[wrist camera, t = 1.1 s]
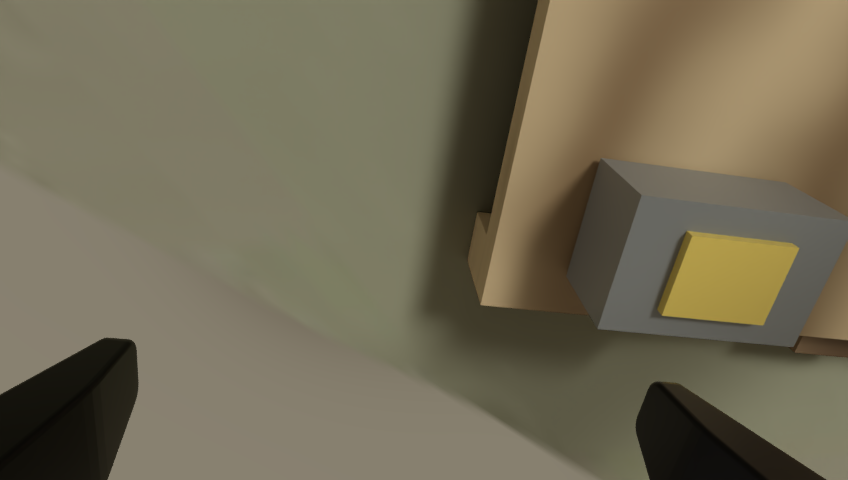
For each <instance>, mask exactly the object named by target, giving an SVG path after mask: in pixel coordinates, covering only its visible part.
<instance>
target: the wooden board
mask: <svg viewBox="0 0 848 480" xmlns="http://www.w3.org/2000/svg"><path fill="white" fill-rule="evenodd" d="M601 158H606V159H613V160H621V161H628V162H636V163H643V164H651V165H659V166H666V167H674V168H681V169H689V170H696V171H704V172H711V173H719V174H726V175H734V176H742V177H749V178H757V179H764V180H772V181H779V182H786V183H788V184H789V185H791V186H793V187H795V188H797V189H798V190H800V191H802V192H804V193H806V194H807V195H809V196H811V197H813V198H815V199H816V200H818V201H820V202H822V203H824V204H825V205H827V206H829V207H831V208H832V209H834V210H836V211H838V212H840V213H841V214H843V215H845V216H847V217H848V0H538V4H537V8H536V13H535V17H534V22H533V26H532V31H531V35H530V40H529V44H528V49H527V54H526V58H525V63H524V67H523V72H522V76H521V81H520V85H519V90H518V94H517V99H516V104H515V108H514V113H513V117H512V122H511V126H510V131H509V135H508V140H507V145H506V149H505V154H504V158H503V163H502V167H501V172H500V176H499V181H498V185H497V190H496V195H495V199H494V204H493V208H492V213H483V212H477V216H476V221H475V226H474V230H473V235H472V240H471V245H470V250H469V254H468V259H467V261H468V264H469V268H470V271H471V274H472V278H473V281H474V284H475V288H476V291H477V295H478V298H479V301H480V305H484V306H495V307H505V308H516V309H526V310H537V311H547V312H558V313H568V314H579V315H589V314H588V312H587V311H586V309H585V307H584V306H583V304H582V302H581V301H580V299H579V297H578V295H577V294H576V292H575V290H574V289H573V287H572V285H571V284H570V282H569V280H568V278H567V277H566V275H567V271H568V268H569V265H570V261H571V258H572V254H573V251H574V248H575V244H576V241H577V237H578V234H579V230H580V227H581V224H582V220H583V217H584V213H585V210H586V206H587V203H588V200H589V196H590V193H591V189H592V186H593V182H594V179H595V176H596V172H597V169H598V165H599V162H600V159H601ZM789 348H790V349H791V350H792V351H793V352H794V353H804V354H815V355H826V356H837V357H848V240H847V242H846V244H845V246H844V248H843V250H842V252H841V254H840V256H839V258H838V260H837V262H836V264H835V266H834V268H833V270H832V272H831V274H830V276H829V278H828V280H827V282H826V284H825V286H824V288H823V290H822V292H821V294H820V296H819V298H818V300H817V302H816V303H815V305H814V307H813V309H812V311H811V313H810V315H809V317H808V319H807V321H806V323H805V325H804V327H803V329H802V331H801V333H800V335H799V337H798V339H797V341H796V343H795V345H794V347H789Z"/></svg>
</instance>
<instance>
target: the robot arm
mask: <svg viewBox="0 0 848 480" xmlns="http://www.w3.org/2000/svg"><path fill="white" fill-rule="evenodd" d="M137 393H138V368H137V350H136V345H135V343H134V342H133V341H132V340H129V339H117V338H104V339H101V340H99V341H97V342H96V343H94V344H92V345H90V346H88V347H87V348H85V349H83V350H81V351H79V352H77V353H75V354H74V355H72V356H70V357H68V358H66V359H64V360H63V361H61V362H59V363H57V364H55V365H54V366H52V367H50V368H48V369H46V370H44V371H42V372H41V373H39V374H37V375H35V376H33V377H32V378H30V379H28V380H26V381H24V382H22V383H21V384H19V385H17V386H15V387H13V388H11V389H10V390H8V391H6V392H4V393H3V394H1V395H0V480H107V479H108V477H109V474H110V471H111V468H112V466H113V463H114V460H115V457H116V454H117V452H118V449H119V446H120V443H121V440H122V438H123V435H124V432H125V429H126V426H127V423H128V421H129V418H130V415H131V412H132V410H133V407H134V404H135V401H136V397H137ZM636 434H637V437H638V441H639V444H640V448H641V451H642V455H643V458H644V462H645V465H646V468H647V472H648V475H649V479H650V480H826V479H824V478H823V477H821V476H820V475H818V474H817V473H815V472H814V471H812V470H811V469H809V468H808V467H806V466H804V465H803V464H801V463H800V462H798V461H797V460H795V459H794V458H792V457H791V456H789V455H788V454H786V453H785V452H783V451H781V450H780V449H778V448H777V447H775V446H774V445H772V444H771V443H769V442H768V441H766V440H765V439H763V438H761V437H760V436H758V435H757V434H755V433H754V432H752V431H751V430H749V429H748V428H746V427H745V426H743V425H742V424H740V423H738V422H737V421H735V420H734V419H732V418H731V417H729V416H728V415H726V414H725V413H723V412H722V411H720V410H719V409H717V408H715V407H714V406H712V405H711V404H709V403H708V402H706V401H705V400H703V399H702V398H700V397H699V396H697V395H695V394H694V393H692V392H691V391H689V390H688V389H686V388H685V387H683V386H682V385H680V384H677V383H671V382H654V383H652V384H651V385H650V387H649V389H648V391H647V394H646V396H645V399H644V401H643V404H642V406H641V409H640V411H639V414H638V416H637V420H636Z"/></svg>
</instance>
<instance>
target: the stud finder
mask: <svg viewBox="0 0 848 480" xmlns="http://www.w3.org/2000/svg"><path fill="white" fill-rule="evenodd" d="M847 240H848V217H847V216H845V215H843V214H841V213H840V212H838V211H836V210H834V209H832V208H831V207H829V206H827V205H825V204H824V203H822V202H820V201H818V200H816V199H815V198H813V197H811V196H809V195H807V194H806V193H804V192H802V191H800V190H798V189H797V188H795V187H793V186H791V185H789V184H788V183H786V182H779V181H772V180H764V179H757V178H749V177H742V176H734V175H726V174H719V173H711V172H704V171H696V170H689V169H681V168H674V167H666V166H659V165H651V164H643V163H636V162H628V161H621V160H613V159H606V158H601V159H600V162H599V165H598V169H597V172H596V176H595V179H594V182H593V186H592V189H591V193H590V196H589V200H588V203H587V206H586V210H585V213H584V217H583V220H582V224H581V227H580V230H579V234H578V237H577V241H576V244H575V248H574V251H573V254H572V258H571V261H570V265H569V268H568V271H567V275H566V277H567V278H568V280H569V282H570V284H571V285H572V287H573V289H574V290H575V292H576V294H577V295H578V297H579V299H580V301H581V302H582V304H583V306H584V307H585V309H586V311H587V312H588V314H589V316H590V318H591V319H592V321H593V323H594V324H595V326H596V328H597V329H602V330H612V331H623V332H634V333H645V334H656V335H666V336H677V337H688V338H699V339H710V340H720V341H731V342H742V343H753V344H764V345H774V346H785V347H794V345H795V343H796V341H797V339H798V337H799V335H800V333H801V331H802V329H803V327H804V325H805V323H806V321H807V319H808V317H809V315H810V313H811V311H812V309H813V307H814V305H815V303H816V302H817V300H818V298H819V296H820V294H821V292H822V290H823V288H824V286H825V284H826V282H827V280H828V278H829V276H830V274H831V272H832V270H833V268H834V266H835V264H836V262H837V260H838V258H839V256H840V254H841V252H842V250H843V248H844V246H845V244H846V242H847Z"/></svg>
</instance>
